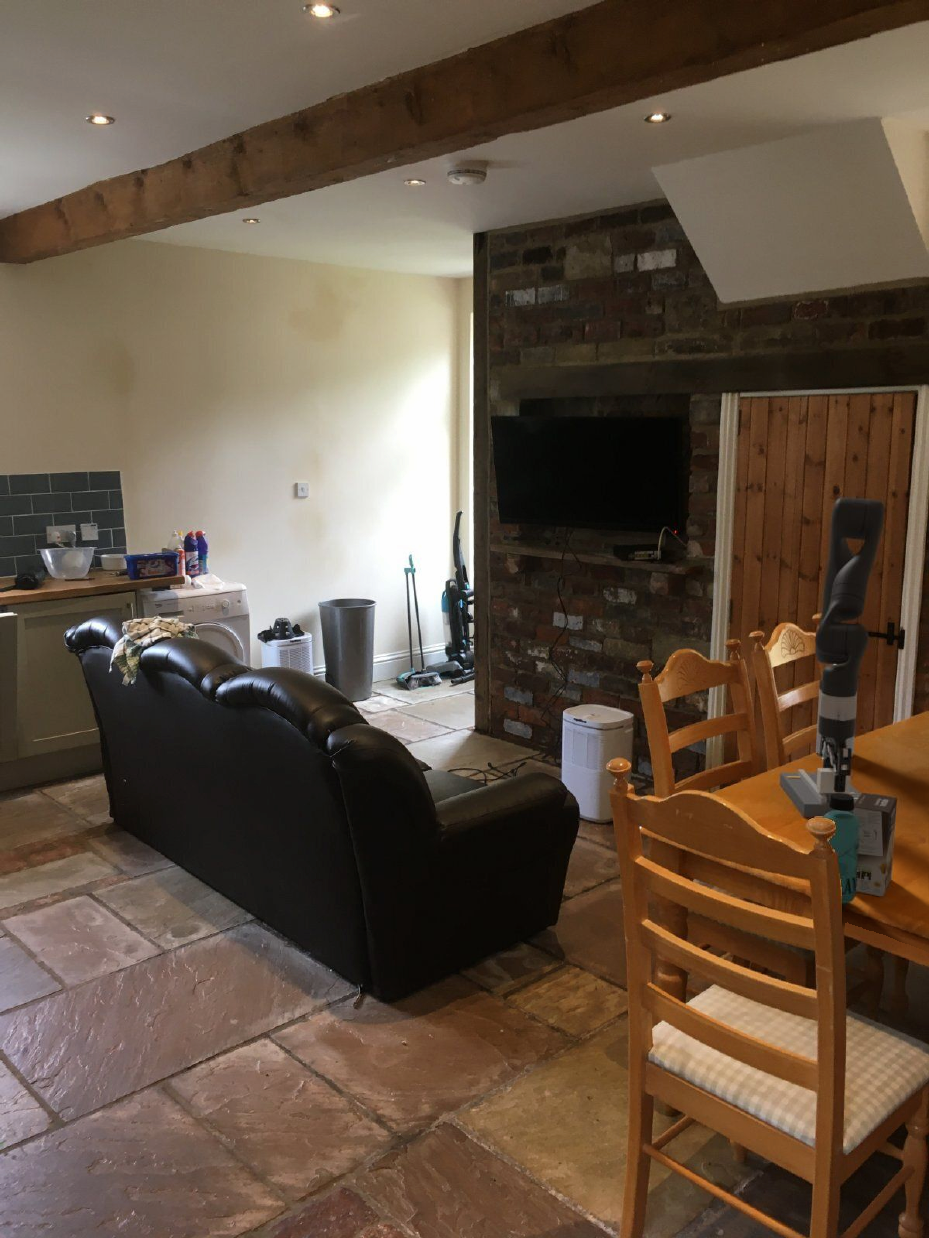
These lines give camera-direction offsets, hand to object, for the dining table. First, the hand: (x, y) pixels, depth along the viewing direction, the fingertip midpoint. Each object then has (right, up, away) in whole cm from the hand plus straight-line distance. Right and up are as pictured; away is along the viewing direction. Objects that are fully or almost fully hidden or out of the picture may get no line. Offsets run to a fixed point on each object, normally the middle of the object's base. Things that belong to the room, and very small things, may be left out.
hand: (833, 785), depth 219 cm
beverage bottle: (-15, -14, -42) cm, 47 cm away
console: (0, -5, +8) cm, 9 cm away
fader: (0, -3, +1) cm, 3 cm away
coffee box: (-6, -13, -35) cm, 38 cm away
